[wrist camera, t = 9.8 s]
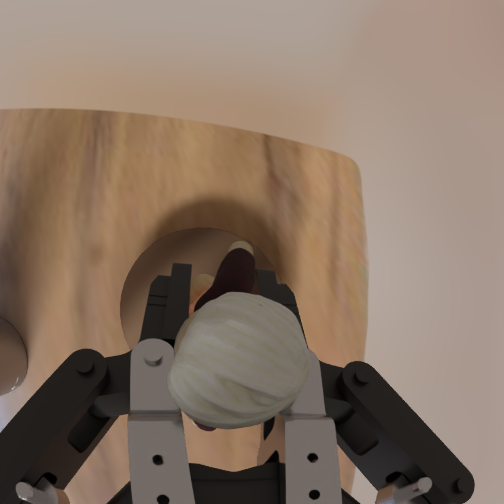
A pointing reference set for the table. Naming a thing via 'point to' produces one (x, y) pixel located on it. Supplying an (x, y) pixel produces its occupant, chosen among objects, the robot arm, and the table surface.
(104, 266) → the table surface
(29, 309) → the table surface
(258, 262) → the walnut plinth
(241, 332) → the grandmother figurine
